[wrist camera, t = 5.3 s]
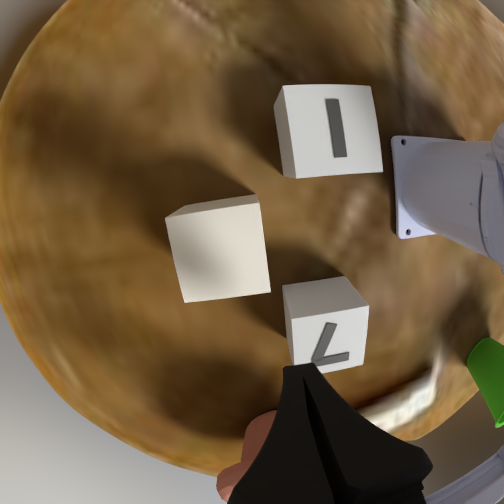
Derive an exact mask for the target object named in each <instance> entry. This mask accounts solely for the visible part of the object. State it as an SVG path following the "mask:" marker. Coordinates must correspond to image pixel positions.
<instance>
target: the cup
mask: <svg viewBox="0 0 504 504" xmlns="http://www.w3.org/2000/svg"><path fill="white" fill-rule="evenodd" d="M467 368H468V370H469V372H470V373H471V375H472V377H473V379H474V380H475V382H476V384H477V386H478V388H479V390H480V391H481V393H482V395H483V397H484V399H485V401H486V403H487V405H488V407H489V409H490V411H491V413H492V415H493V418H494V420H495V422H496V423H495V427H496V428H498V427H500V426H502V425H504V345H502V344H500V343H499V342H497V341H495V340H493V339H492V338H484V339H482V340H481V341H480V342H479V343H478V344H477V345H476V346H475V347H474V348H473V350H472V351H471V353H470V355H469V357H468V359H467Z"/></svg>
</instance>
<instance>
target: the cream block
mask: <svg viewBox="0 0 504 504" xmlns="http://www.w3.org/2000/svg"><path fill="white" fill-rule="evenodd" d="M165 221H166V226H167V231H168V236H169V240H170V245H171V249H172V254H173V258H174V263H175V267H176V271H177V275H178V279H179V283H180V287H181V291H182V295H183V299H184V302H185V303H187V302H196V301H205V300H214V299H223V298H231V297H239V296H246V295H254V294H261V293H268V292H271V289H270V281H269V273H268V265H267V257H266V249H265V242H264V234H263V227H262V219H261V212H260V204H259V201H258V198H257V196H256V194H254V195H247V196H240V197H234V198H227V199H220V200H214V201H208V202H202V203H196V204H190V205H185V206H183V207H182V208H180V209H178V210H177V211H175V212H173V213H172V214H170V215H169V216H167V217H166V218H165Z"/></svg>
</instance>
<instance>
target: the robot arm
mask: <svg viewBox="0 0 504 504" xmlns="http://www.w3.org/2000/svg"><path fill="white" fill-rule="evenodd" d="M401 140H403V141H404V145H402V144H401ZM391 147H392V156H393V166H394V179H395V197H396V234H397V237H399V238H401V239H406V238H413V237H419V236H426V235H432V234H439V235H441V236H443V237H446V238H448V239H450V240H452V241H454V242H457V243H459V244H461V245H463V246H465V247H467V248H469V249H471V250H473V251H475V252H477V253H479V254H482V255H483V256H485V257H487V258H489V259H491V260H493V261H496V262H497V263H498V264H499V265H500V267H501V270H502V274H504V122H503V123H501V124H500V125H499V127H498V128H497V131H496V133H495V135H494V136H493V138H492V141H460V140H451V139H442V138H430V137H416V136H393V137H392V139H391ZM407 229H408V233H407V234H406V230H407ZM432 468H433V465H432V463H431V461H430V459H429V457H428V456H427V454H426V453H425V452H424V450H423V449H422V448H420V447H417V446H414V445H411V444H409V443H407V442H404V441H402V440H400V439H398V438H396V437H394V436H392V435H390V434H389V433H387V432H385V431H383V430H382V429H380V428H379V427H377V426H375V425H374V424H372V423H371V422H370V421H368V420H367V419H365V418H364V417H363V416H362V415H360V414H359V413H358V412H357V411H355V410H354V409H353V408H352V407H351V406H350V405H349V404H348V403H347V402H346V401H345V400H344V399H343V398H342V397H341V396H340V395H339V394H338V393H337V392H336V391H335V390H334V388H333V387H332V386H331V385H330V384H329V383H328V381H327V380H326V379H325V378H324V376H323V375H322V374H321V372H320V371H319V369H318V368H317V366H316V365H315V364H314V363H313V362H312V363H305V364H299V365H292V366H285V367H284V368H283V386H282V392H281V397H280V402H279V405H278V409H277V412H276V415H275V418H274V421H273V424H272V426H271V429H270V431H269V433H268V435H267V438H266V440H265V442H264V444H263V446H262V448H261V449H260V451H259V453H258V455H257V456H256V458H255V459H254V461H253V462H252V464H251V466H250V467H249V469H248V470H247V471H246V473H245V474H244V475H243V477H242V478H241V479H240V480H239V482H238V483H237V484H236V485H235V487H234V488H233V490H232V493H231V495H230V497H229V500H228V502H227V504H496V503H497V502H498V501H500V500H501V499H502V498H503V497H504V445H503V446H502V447H501V448H500V449H499V450H498V452H497V453H496V454H494V455H493V456H492V457H490V458H489V459H488V460H486V461H485V462H484V463H482V464H481V465H480V466H478V467H476V468H475V469H473V470H472V471H470V472H469V473H467V474H466V475H464V476H463V477H461V478H459V479H458V480H456V481H454V482H453V483H451V484H449V485H447V486H446V487H444V488H442V489H440V490H438V491H436V492H435V493H432V494H431V495H428V496H427V497H424V496H423V493H422V491H421V490H423V488H424V487H423V485H422V481H423V479H424V478H425V477H426V476H427V475H428V474H429V473H430V472H431V470H432Z"/></svg>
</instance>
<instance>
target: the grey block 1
mask: <svg viewBox="0 0 504 504" xmlns="http://www.w3.org/2000/svg"><path fill="white" fill-rule="evenodd" d="M273 107H274V114H275V120H276V127H277V133H278V140H279V147H280V154H281V162H282V169H283V176H285V177H291V178H306V177H316V176H327V175H340V174H354V173H371V172H383V166H382V156H381V147H380V139H379V132H378V125H377V119H376V113H375V107H374V102H373V96H372V91H371V87H370V86H363V85H340V84H309V85H286V86H282V88H281V91H280V93H279V95H278V97H277V99H276V102H275V104H274V106H273Z"/></svg>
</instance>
